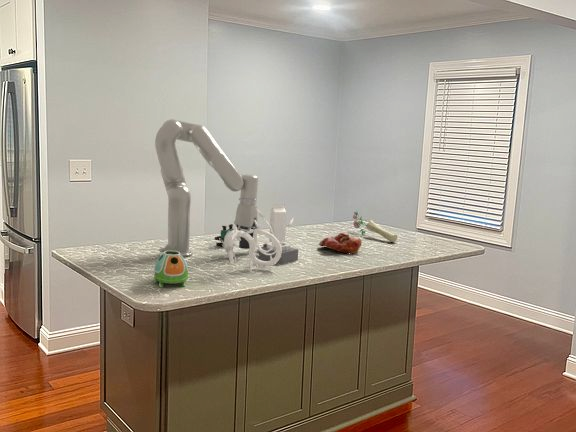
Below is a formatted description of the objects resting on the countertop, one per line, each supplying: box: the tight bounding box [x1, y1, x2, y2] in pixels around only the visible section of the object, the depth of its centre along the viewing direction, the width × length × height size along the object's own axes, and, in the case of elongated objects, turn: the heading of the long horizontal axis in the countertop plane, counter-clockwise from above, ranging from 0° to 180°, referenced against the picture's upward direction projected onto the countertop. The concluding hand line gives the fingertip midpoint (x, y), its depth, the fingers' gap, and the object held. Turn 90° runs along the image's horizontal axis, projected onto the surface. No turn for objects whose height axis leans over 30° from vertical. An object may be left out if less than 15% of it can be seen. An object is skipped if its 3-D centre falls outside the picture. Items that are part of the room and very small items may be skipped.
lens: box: [238, 226, 252, 250], centre depth 263 cm, size 5×5×10 cm
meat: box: [318, 232, 362, 255], centre depth 280 cm, size 21×21×10 cm
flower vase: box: [352, 211, 398, 243], centre depth 317 cm, size 12×12×35 cm
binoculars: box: [214, 223, 236, 247], centre depth 278 cm, size 9×11×10 cm
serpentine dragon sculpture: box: [221, 208, 295, 273], centre depth 239 cm, size 43×20×25 cm, turn 127°
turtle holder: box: [153, 251, 189, 288], centre depth 212 cm, size 12×18×12 cm
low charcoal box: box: [257, 241, 299, 265], centre depth 255 cm, size 11×14×7 cm
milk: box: [268, 204, 287, 242], centre depth 273 cm, size 6×6×22 cm
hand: (245, 240), depth 263 cm, fingers closed on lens, 5 cm apart
